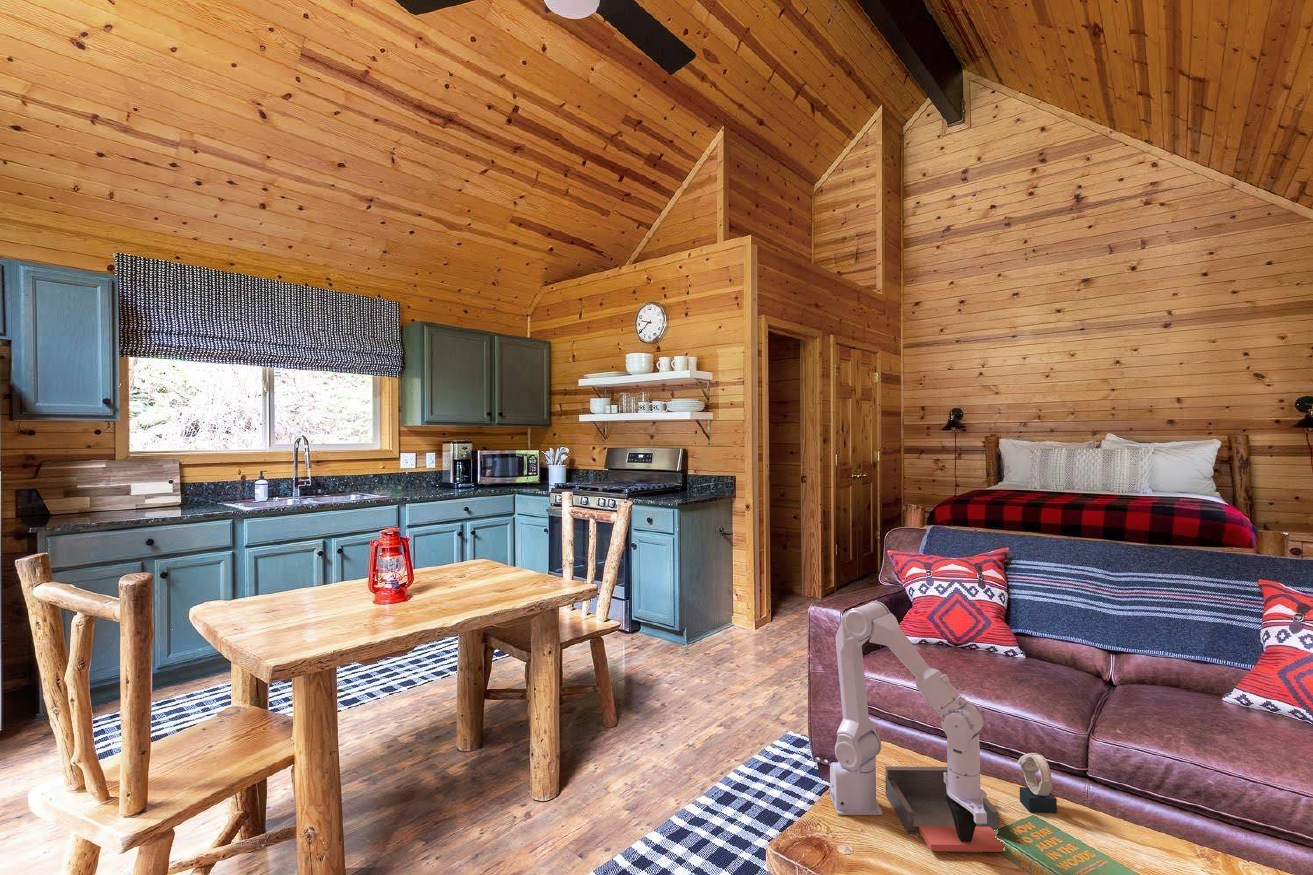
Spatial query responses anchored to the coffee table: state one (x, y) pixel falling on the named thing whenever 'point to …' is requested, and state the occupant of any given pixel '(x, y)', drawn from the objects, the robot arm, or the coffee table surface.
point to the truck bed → (925, 798)
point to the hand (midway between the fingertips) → (964, 839)
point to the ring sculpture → (1034, 794)
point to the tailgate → (949, 841)
